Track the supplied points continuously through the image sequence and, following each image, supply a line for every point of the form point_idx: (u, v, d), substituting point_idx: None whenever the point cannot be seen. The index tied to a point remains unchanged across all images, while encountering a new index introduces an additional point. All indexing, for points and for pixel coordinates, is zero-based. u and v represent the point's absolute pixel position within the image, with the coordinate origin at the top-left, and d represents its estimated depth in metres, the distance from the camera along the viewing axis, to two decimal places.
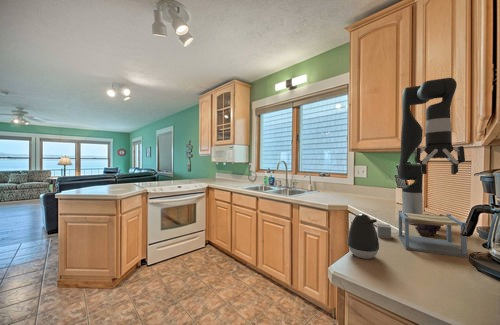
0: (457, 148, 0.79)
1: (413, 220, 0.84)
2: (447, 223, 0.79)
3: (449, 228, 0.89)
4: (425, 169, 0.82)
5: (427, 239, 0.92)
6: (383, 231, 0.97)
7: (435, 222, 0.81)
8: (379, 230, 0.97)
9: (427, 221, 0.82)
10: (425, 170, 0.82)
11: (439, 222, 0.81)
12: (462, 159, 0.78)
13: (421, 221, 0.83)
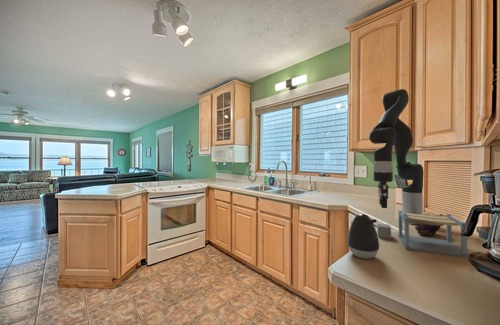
0: None
1: (413, 220, 0.84)
2: (447, 223, 0.79)
3: (449, 228, 0.89)
4: None
5: (427, 239, 0.92)
6: (383, 231, 0.97)
7: (435, 222, 0.81)
8: (379, 230, 0.97)
9: (427, 221, 0.82)
10: None
11: (439, 222, 0.81)
12: None
13: (421, 221, 0.83)
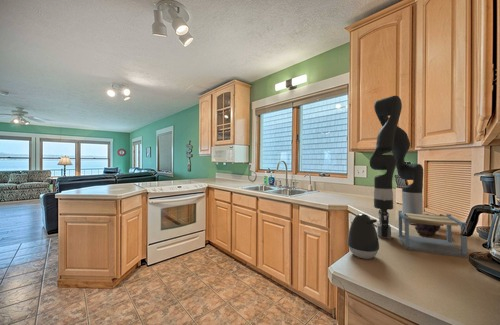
0: None
1: (413, 220, 0.84)
2: (447, 223, 0.79)
3: (449, 228, 0.89)
4: None
5: (427, 239, 0.92)
6: None
7: (435, 222, 0.81)
8: (379, 230, 0.97)
9: (427, 221, 0.82)
10: None
11: (439, 222, 0.81)
12: None
13: (421, 221, 0.83)
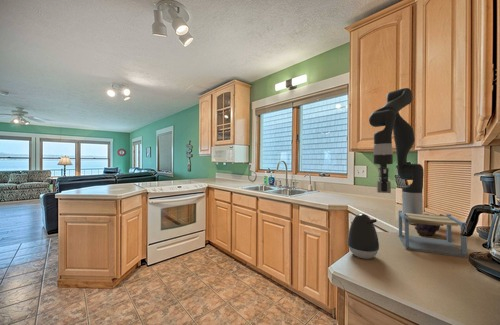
0: None
1: (413, 220, 0.84)
2: (447, 223, 0.79)
3: (449, 228, 0.89)
4: None
5: (427, 239, 0.92)
6: None
7: (435, 222, 0.81)
8: (379, 185, 0.98)
9: (427, 221, 0.82)
10: None
11: (439, 222, 0.81)
12: (385, 178, 1.03)
13: (421, 221, 0.83)
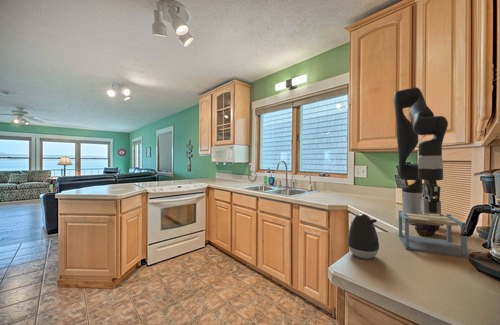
0: None
1: (413, 220, 0.84)
2: (447, 223, 0.79)
3: (449, 228, 0.89)
4: None
5: (427, 239, 0.92)
6: None
7: (435, 222, 0.81)
8: (426, 204, 0.82)
9: (427, 221, 0.82)
10: None
11: (439, 222, 0.81)
12: None
13: (421, 221, 0.83)
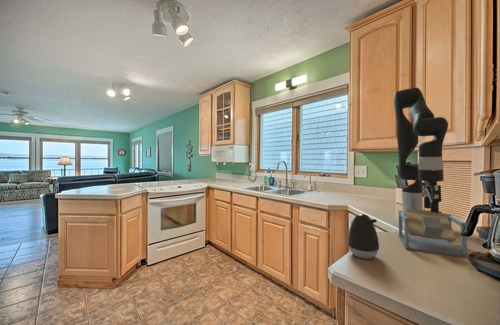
0: None
1: (412, 234, 0.86)
2: (445, 238, 0.81)
3: None
4: None
5: (427, 239, 0.92)
6: (431, 231, 0.82)
7: (433, 237, 0.83)
8: (427, 229, 0.82)
9: (426, 236, 0.84)
10: None
11: (437, 237, 0.82)
12: None
13: (420, 235, 0.85)
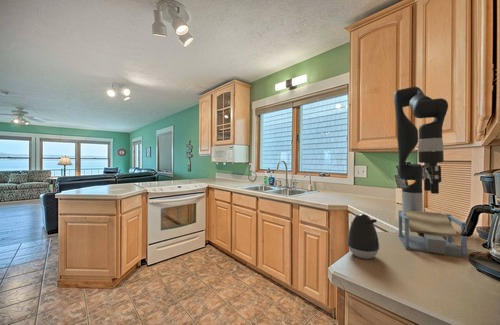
0: None
1: (413, 230, 0.85)
2: (446, 234, 0.80)
3: None
4: None
5: None
6: None
7: (434, 233, 0.82)
8: None
9: (426, 232, 0.83)
10: None
11: (438, 233, 0.81)
12: None
13: (420, 231, 0.84)
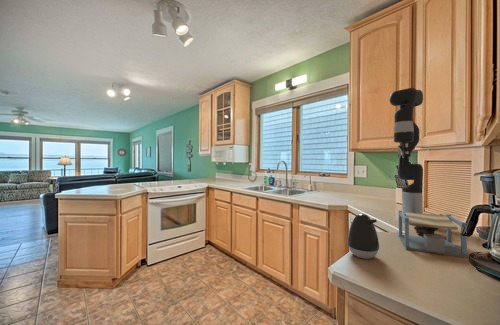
0: None
1: (413, 224, 0.84)
2: (447, 227, 0.80)
3: None
4: None
5: None
6: None
7: (435, 226, 0.81)
8: None
9: (427, 225, 0.82)
10: None
11: (439, 226, 0.81)
12: None
13: (421, 225, 0.83)
